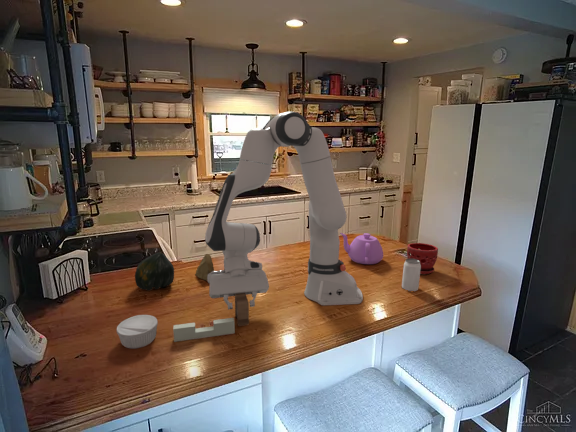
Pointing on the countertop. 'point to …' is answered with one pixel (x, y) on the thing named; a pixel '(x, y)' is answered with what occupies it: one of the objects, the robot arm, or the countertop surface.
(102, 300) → the countertop surface
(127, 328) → the ramekin
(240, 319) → the walnut block
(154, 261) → the squash
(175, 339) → the slotted rail
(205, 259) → the rock
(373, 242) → the teapot
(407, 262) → the can
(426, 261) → the plant pot
